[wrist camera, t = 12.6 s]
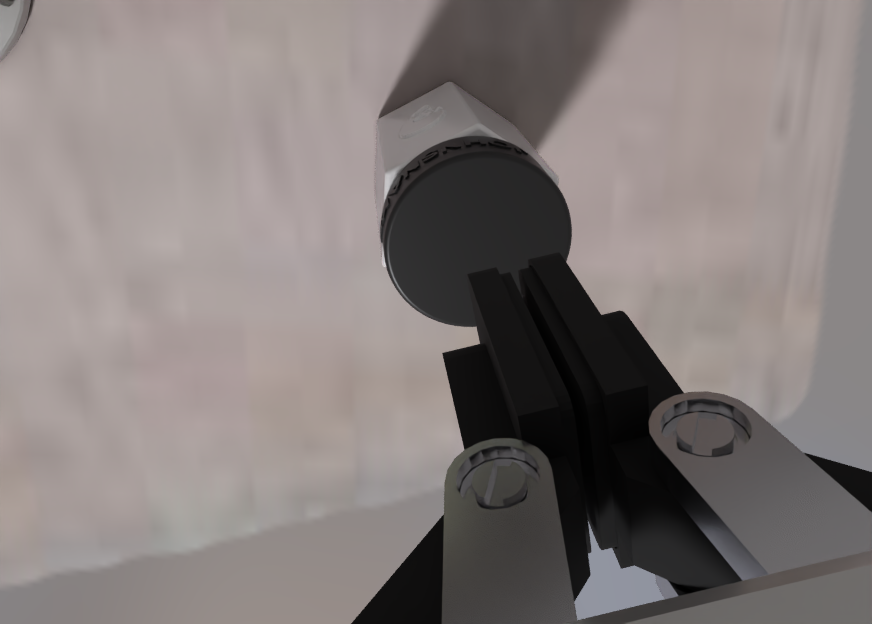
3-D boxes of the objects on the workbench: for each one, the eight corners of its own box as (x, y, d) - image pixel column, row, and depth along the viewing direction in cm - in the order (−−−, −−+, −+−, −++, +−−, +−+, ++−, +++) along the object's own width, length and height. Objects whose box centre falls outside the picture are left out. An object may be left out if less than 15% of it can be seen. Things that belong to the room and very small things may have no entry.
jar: (484, 56, 35) (542, 108, 25) (538, 184, 39) (607, 275, 29) (339, 134, 37) (337, 214, 26) (406, 250, 41) (427, 360, 30)
